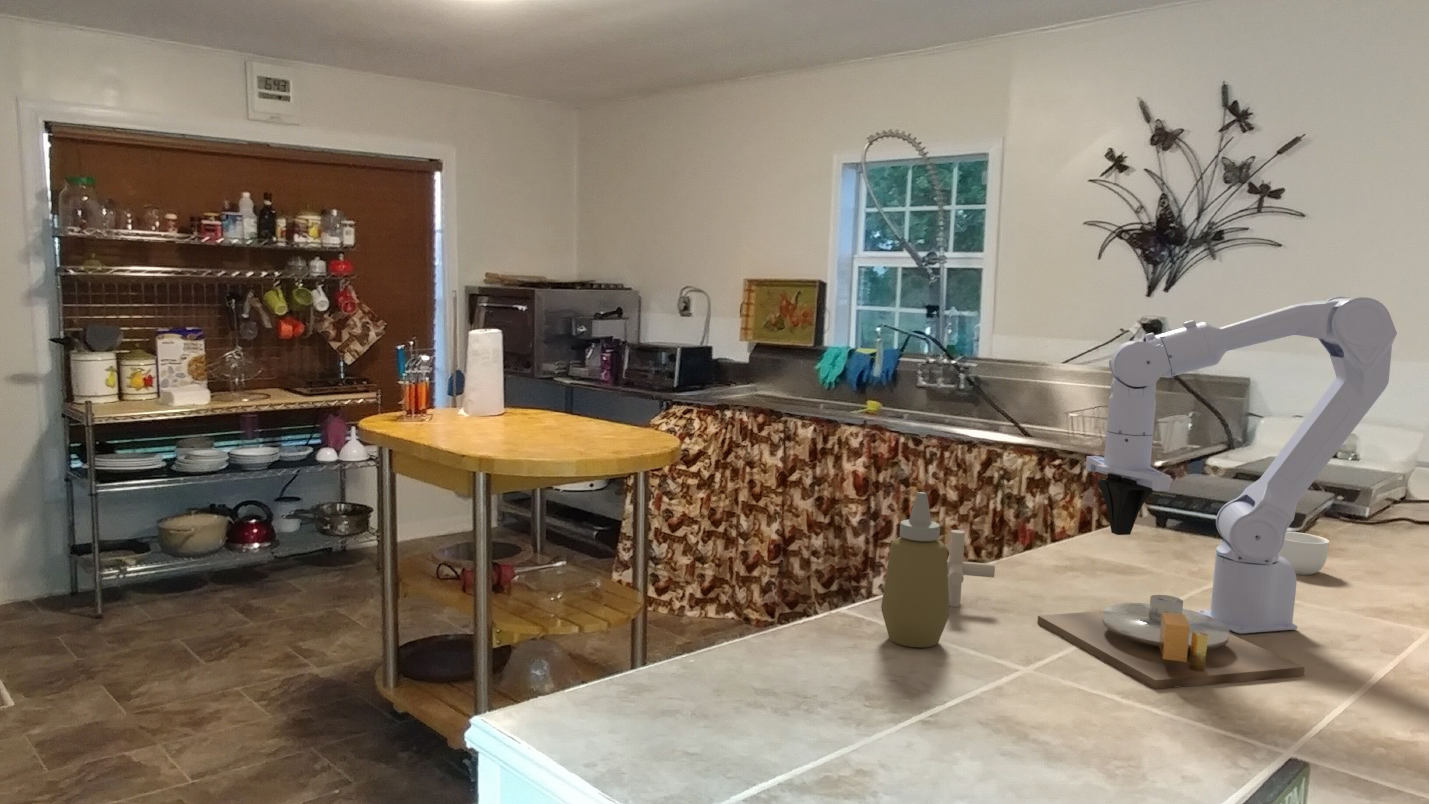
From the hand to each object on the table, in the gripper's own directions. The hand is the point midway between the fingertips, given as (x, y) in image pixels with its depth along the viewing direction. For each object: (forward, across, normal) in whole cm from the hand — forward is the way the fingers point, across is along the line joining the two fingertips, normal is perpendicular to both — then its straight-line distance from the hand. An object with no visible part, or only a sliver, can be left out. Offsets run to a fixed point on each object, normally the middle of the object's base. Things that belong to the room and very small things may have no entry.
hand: (1120, 533), depth 139 cm
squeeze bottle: (+11, +6, -33) cm, 35 cm away
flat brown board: (+10, +14, -4) cm, 18 cm away
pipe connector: (+11, -6, -21) cm, 24 cm away
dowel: (+10, +23, -7) cm, 26 cm away
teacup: (+10, -13, +42) cm, 45 cm away
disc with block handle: (+8, +16, -5) cm, 18 cm away
